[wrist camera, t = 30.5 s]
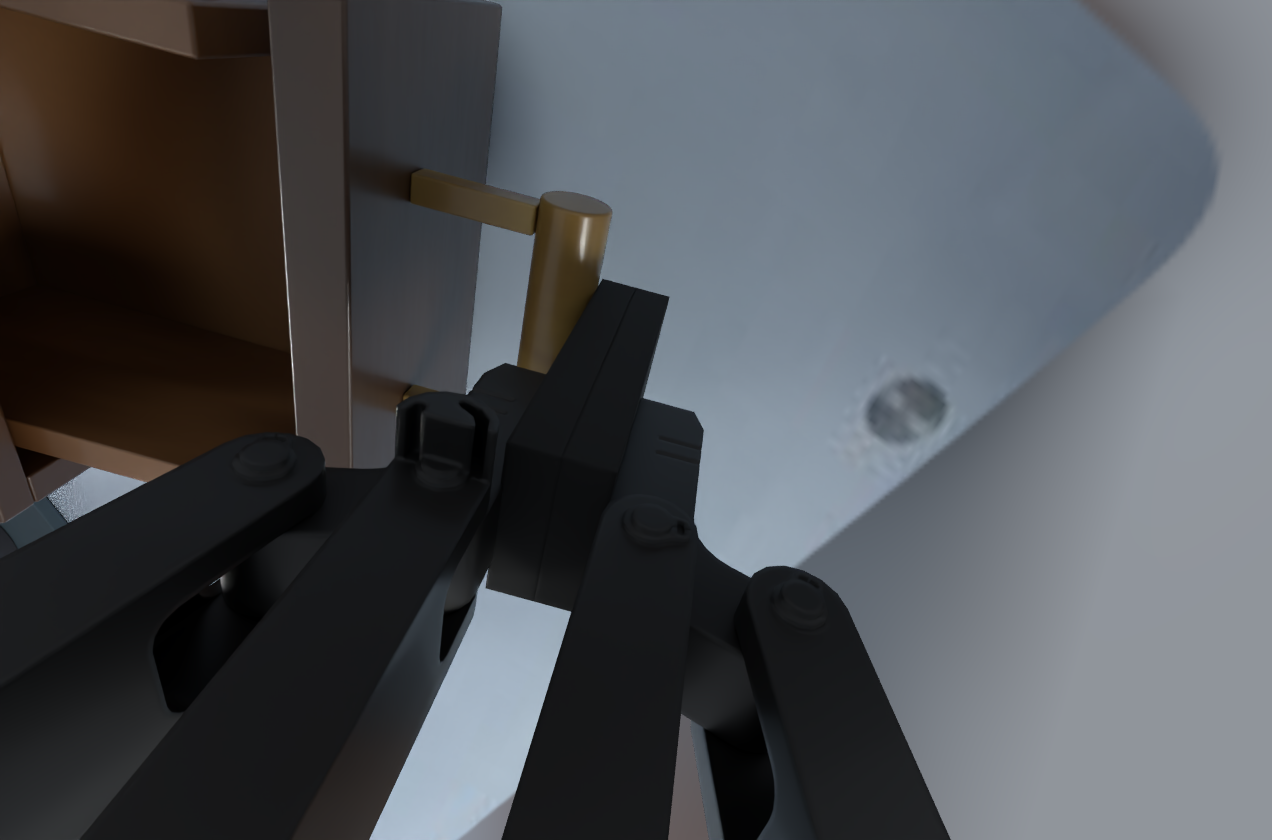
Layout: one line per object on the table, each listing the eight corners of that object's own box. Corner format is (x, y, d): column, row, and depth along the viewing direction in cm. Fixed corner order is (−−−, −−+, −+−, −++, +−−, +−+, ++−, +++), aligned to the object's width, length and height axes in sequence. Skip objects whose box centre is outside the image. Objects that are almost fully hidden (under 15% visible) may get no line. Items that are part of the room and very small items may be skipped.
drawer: (670, 48, 15) (617, 58, 9) (582, 453, 21) (517, 615, 15) (-63, -144, 15) (-571, -254, 9) (58, 309, 21) (-206, 414, 15)
